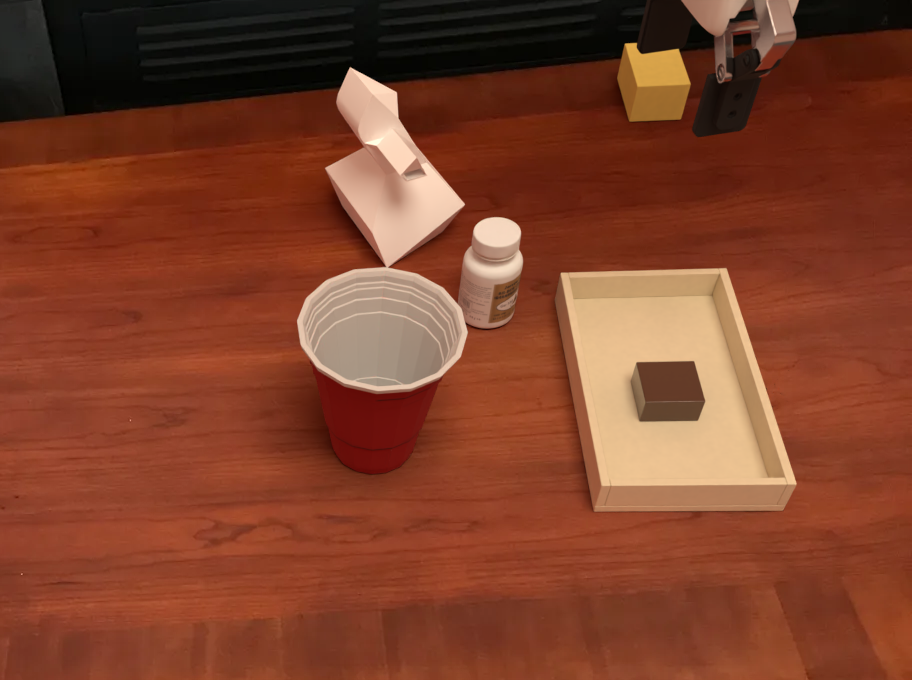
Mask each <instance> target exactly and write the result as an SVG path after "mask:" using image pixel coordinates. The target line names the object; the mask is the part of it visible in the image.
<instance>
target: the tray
mask: <svg viewBox="0 0 912 680" xmlns="http://www.w3.org/2000/svg"><path fill="white" fill-rule="evenodd" d="M554 304H555V310H556V315H557V321H558V327H559V332H560V337H561V342H562V348H563V354H564V360H565V364H566V370H567V376H568V379H569V381H568V382H569V386H570V391H571V397H572V402H573V408H574V412H575V418H576V424H577V429H578V434H579V439H580V444H581V445H580V446H581V451H582V456H583V462H584V466H585V472H586V477H587V483H588V489H589V495H590V500H591V506H592V511H593V512H594V513H602V512H605V513H609V512H612V513H613V512H614V513H615V512H617V513H618V512H619V513H620V512H621V513H622V512H623V513H624V512H783V511H784V510H785V508H786V506H787V504H788V502H789V500H790V498H791V497H792V495H793V492H794V490H795V489H796V487H797V481H796V477H795V473H794V471H793V468H792V466H791V462H790V458H789V455H788V453H787V450H786V447H785V444H784V440H783V437H782V434H781V431H780V428H779V424H778V422H777V419H776V416H775V413H774V409H773V406H772V403H771V400H770V397H769V395H768V392H767V387H766V385H765V382H764V379H763V376H762V373H761V370H760V367H759V364H758V361H757V358H756V354H755V351H754V347H753V345H752V342H751V339H750V336H749V333H748V330H747V327H746V323H745V321H744V318H743V315H742V311H741V308H740V305H739V302H738V298H737V296H736V293H735V290H734V287H733V284H732V280H731V277H730V275H729V271H728V269H727V267H719V268H716V267H715V268H684V269H683V268H680V269H648V270H647V269H645V270H643V269H642V270H611V271H576V272H575V271H572V272H560V274H559V278H558V283H557V287H556V292H555V297H554ZM667 361H694V362H695V366H696V369H697V373H698V376H699V380H700V384H701V387H702V391H703V394H704V398H705V404H704V407H703V409H702V412H701V415H700V417H699V420H698V421H648V422H640V421H639V416H638V412H637V408H636V403H635V399H634V395H633V390H632V386H631V378H632V375H633V372H634V368H635V365H636V362H667Z"/></svg>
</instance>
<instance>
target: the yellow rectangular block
mask: <svg viewBox="0 0 912 680" xmlns="http://www.w3.org/2000/svg"><path fill="white" fill-rule="evenodd" d="M623 45H624V46H623V50H622V54H621V59H620V62H619V63H620V64H619V68H618V73H617V78H616V80H617V83H618V87H619V90H620V93H621V98H622V101H623V105H624V108H625V111H626V115H627V119H628V122H629V123H630V122H631V123H632V122H655V121H676V120H677V121H680V120H682V118H683V114H684V110H685V106H686V103H687V99H688V97H689V93H690V89H691V85H692V84H691V81H690V78H689V74H688V72H687V69H686V66H685V64H684V60H683V57H682V55H681V52H680V49H674V50H667V51H661V52H654V53H647V54H641V53H640V52H639V51H638V49H637V42H630V43H629V42H628V43H624V44H623Z"/></svg>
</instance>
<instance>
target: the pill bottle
mask: <svg viewBox="0 0 912 680" xmlns="http://www.w3.org/2000/svg"><path fill="white" fill-rule="evenodd" d="M521 238H522V231H521V227H520V225H518V224H517V223H516V222H515V221H513V220H511V219H509V218H505V217H499V216H494V217H493V216H491V217H487V218H484V219H482V220H480V221H479V222H477V224H475V226H474V227H473V231H472V237H471V245H470V246H469V247H468V248H467V250H466V251H465V253H464V255H463V259H462V265H461V272H460V273H461V275H460V281H459V288H458V296H457V297H458V298H457V304H458V305H459V306H460V307H461V309H462V312H463V316H464V320H465V324H468V325H469V326H472V327H475V328H479V329H495V328H499V327H502V326H504V325H506V324H507V323H508V322H510V321H511V320H512V318H513V316H514V314H515V309H516V303H517V298H518V294H519V288H520V283H521V277H522V271H523V266H524V257H523V254H522V252H521V250H520V245H521Z"/></svg>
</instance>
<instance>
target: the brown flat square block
mask: <svg viewBox="0 0 912 680" xmlns="http://www.w3.org/2000/svg"><path fill="white" fill-rule="evenodd" d="M631 386H632V390H633V395H634V399H635V403H636V408H637V412H638V416H639V421H640V422H648V421H698V420H699V417H700V415H701V412H702V409H703V407H704V404H705V398H704V394H703V391H702V387H701V384H700V380H699V376H698V373H697V369H696V366H695V362H694V361H667V362H636V365H635V368H634V372H633V375H632V378H631Z"/></svg>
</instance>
